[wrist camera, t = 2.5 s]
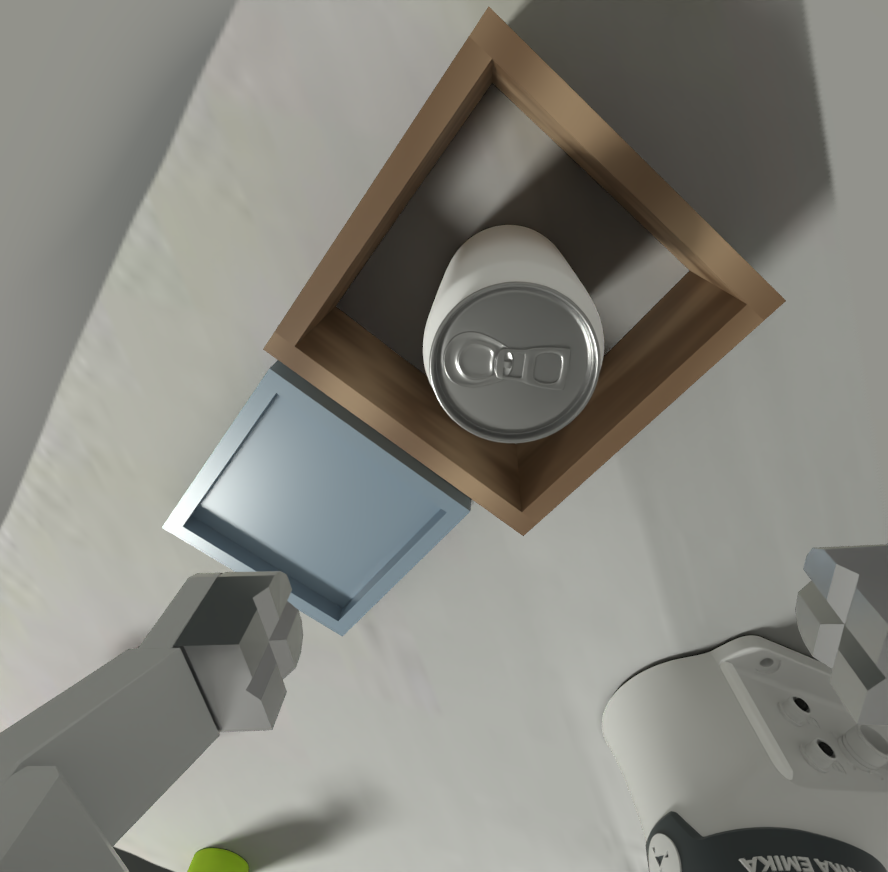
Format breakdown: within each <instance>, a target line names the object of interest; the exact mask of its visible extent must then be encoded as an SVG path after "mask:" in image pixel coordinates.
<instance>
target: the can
mask: <svg viewBox="0 0 888 872" xmlns="http://www.w3.org/2000/svg"><path fill="white" fill-rule="evenodd" d="M603 355H604V334H603V328H602V323H601V320H600V316H599V314H598V311H597V309H596V307H595V305H594V303H593V301H592V299H591V297H590V295H589V294H588V292H587V291H586V289H585V288H584V286H583V284H582V283H581V281H580V280H579V278H578V277H577V276H576V274H575V273H574V271H573V270H572V268H571V267H570V265H569V264H568V262H567V261H566V260H565V258H564V257H563V255H562V254H561V253H560V251H559V250H558V249H557V248H556V246H555V245H554V244H553V243H552V242H551V241H550V240H549V239H547V238H546V237H545V236H543V235H542V234H540V233H538V232H536V231H534V230H532V229H530V228H527V227H523V226H517V225H500V226H495V227H491V228H488V229H485V230H483V231H481V232H479V233H477V234H475V235H474V236H472V237H471V238H470V239H468V240H467V241H466V242H465V243H464V244H463V245H462V246H461V247H460V248H459V249H458V251H457V252H456V253H455V255H454V256H453V258H452V260H451V261H450V263H449V265H448V267H447V269H446V272H445V274H444V277H443V279H442V282H441V284H440V287H439V289H438V292H437V295H436V297H435V300H434V302H433V305H432V308H431V311H430V314H429V316H428V320H427V323H426V327H425V331H424V338H423V360H424V366H425V370H426V374H427V377H428V380H429V382H430V384H431V386H432V388H433V390H434V393H435V395H436V397H437V399H438V401H439V403H440V405H441V406H442V408H443V409H444V411H445V412H446V413H447V414H448V415H449V417H450V418H451V419H452V420H453V421H455V422H456V423H457V424H458V425H459V426H461V427H462V428H463V429H465V430H467V431H468V432H470V433H472V434H474V435H476V436H478V437H481V438H483V439H487V440H490V441H495V442H500V443H524V442H530V441H535V440H538V439H541V438H544V437H547V436H549V435H551V434H553V433H555V432H557V431H559V430H561V429H562V428H564V427H565V426H566V425H568V424H569V423H570V422H571V421H573V420H574V419H575V418H576V417H577V416H578V415H579V414H580V413H581V411H582V410H583V409H584V408H585V406H586V405H587V403H588V402H589V400H590V398H591V396H592V394H593V392H594V390H595V387H596V385H597V381H598V377H599V372H600V369H601V366H602V361H603Z"/></svg>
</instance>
